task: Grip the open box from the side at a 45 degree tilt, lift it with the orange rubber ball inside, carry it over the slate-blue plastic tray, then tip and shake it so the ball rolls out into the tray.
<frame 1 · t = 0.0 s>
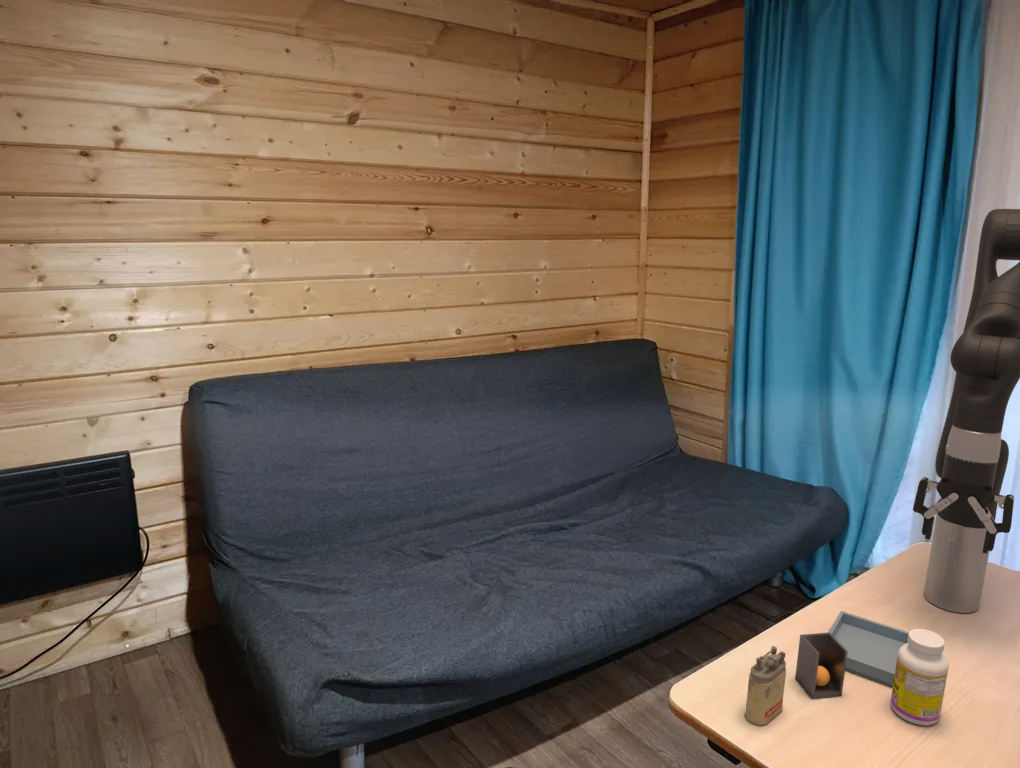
hand: (955, 544, 127), 17 cm above the table, tool pointing down, fingers open, 8 cm apart
lighter: (762, 713, 111), on the table
supplement bottle: (914, 713, 111), on the table
tray: (865, 653, 125), on the table
open box: (817, 687, 117), on the table, touching ball
ball: (819, 675, 116), point 2 cm above the table, touching open box
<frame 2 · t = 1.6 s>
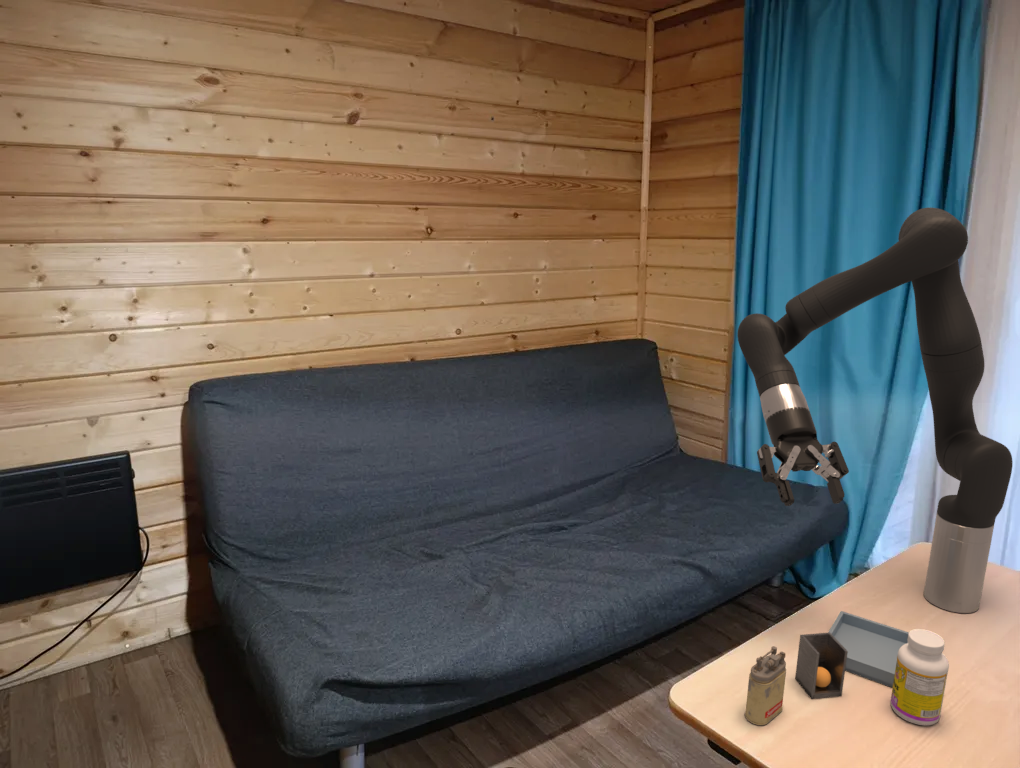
hand: (814, 503, 121), 26 cm above the table, tool tilted 45°, fingers open, 8 cm apart
ball: (820, 677, 116), point 2 cm above the table, tilted 13°, touching open box
everything else where it was.
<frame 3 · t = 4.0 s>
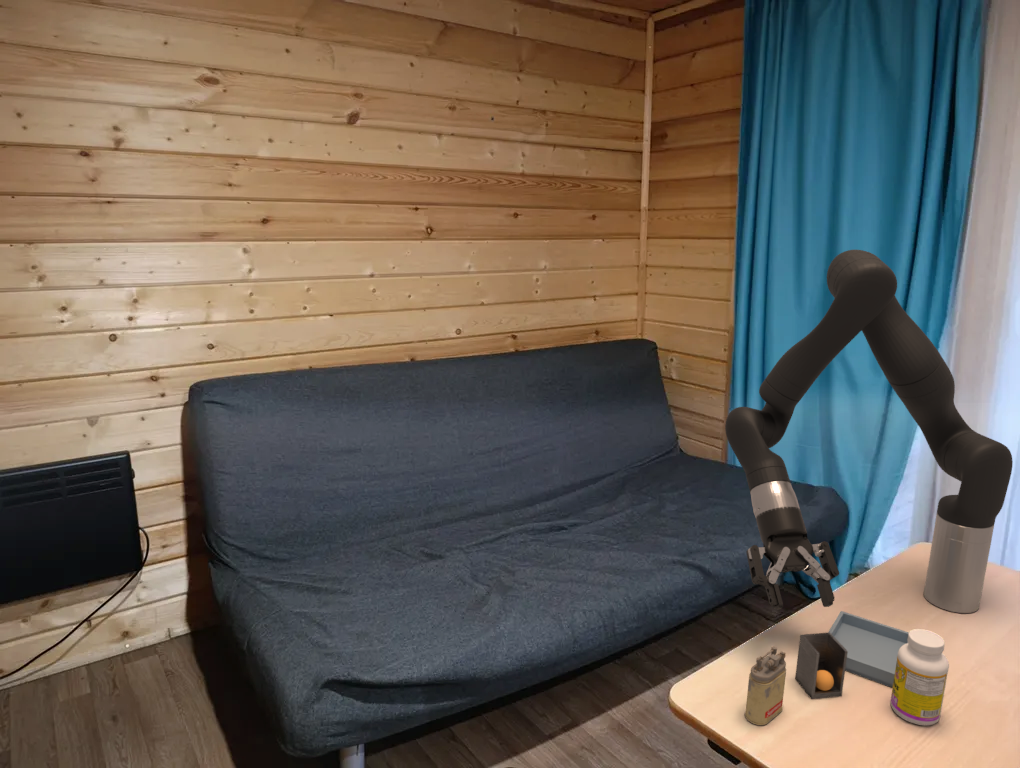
hand: (804, 607, 120), 10 cm above the table, tool tilted 45°, fingers open, 8 cm apart
ball: (823, 680, 115), point 2 cm above the table, tilted 43°, touching open box
everything else where it was.
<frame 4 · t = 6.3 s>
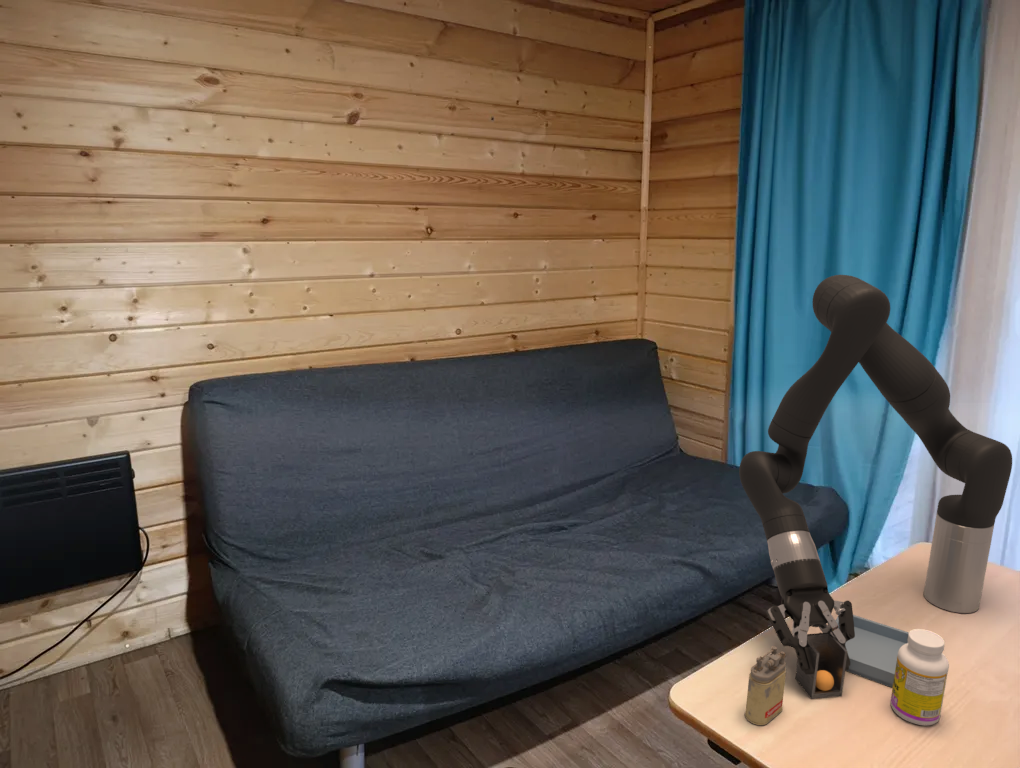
hand: (827, 671, 114), 4 cm above the table, tool tilted 45°, fingers closed on open box, 5 cm apart
open box: (817, 687, 117), on the table, touching ball, gripper
everything else where it was.
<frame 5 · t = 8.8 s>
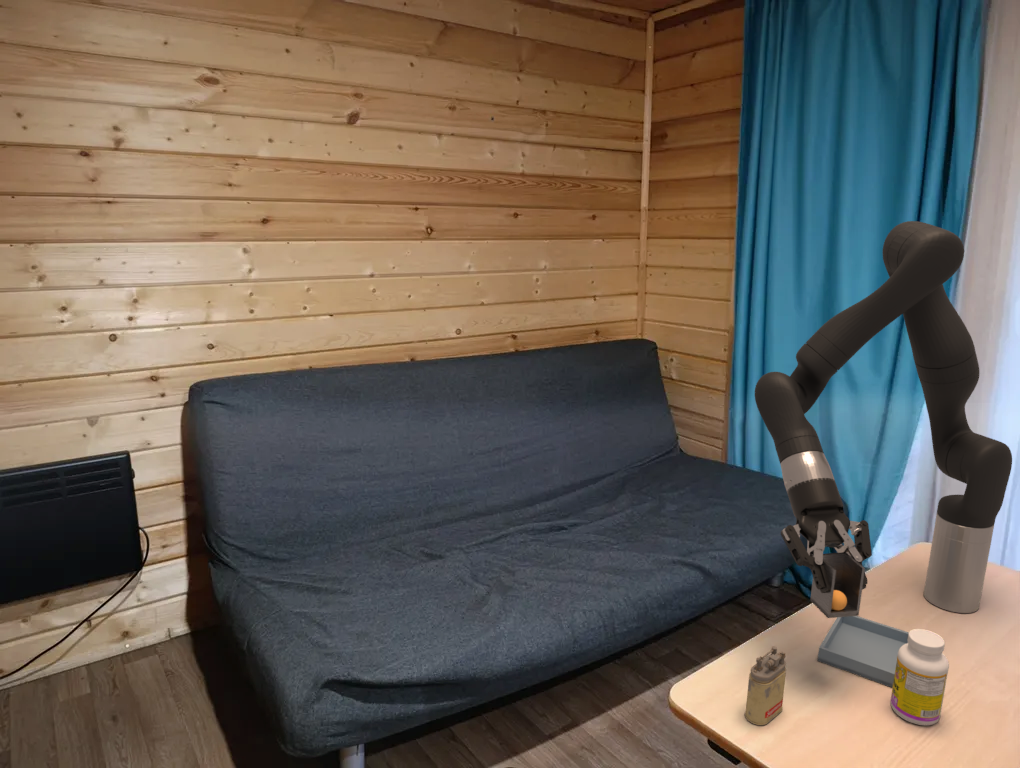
hand: (844, 589, 111), 18 cm above the table, tool tilted 45°, fingers closed on open box, 5 cm apart
open box: (833, 607, 114), point 14 cm above the table, touching ball, gripper
ball: (836, 600, 112), point 16 cm above the table, tilted 50°, touching open box
everything else where it was.
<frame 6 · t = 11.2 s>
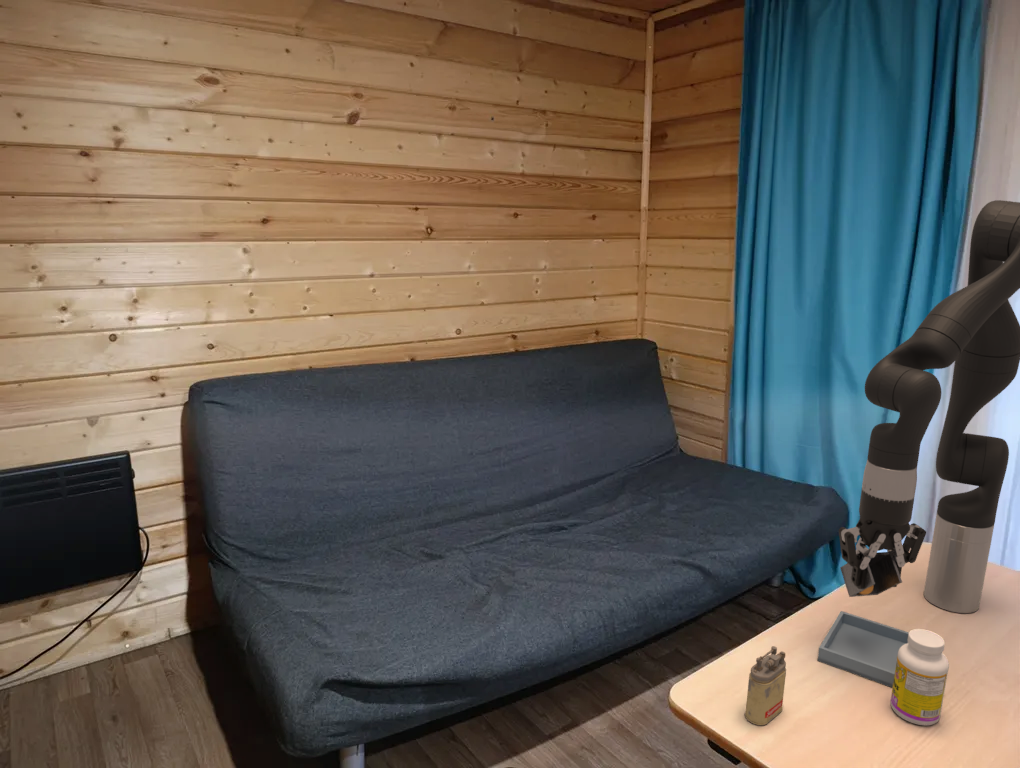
hand: (874, 585, 121), 13 cm above the table, tool pointing down, fingers closed on open box, 5 cm apart
open box: (858, 581, 126), point 12 cm above the table, tilted 45°, touching ball, gripper
ball: (863, 585, 123), point 12 cm above the table, tilted 96°, touching open box
everything else where it was.
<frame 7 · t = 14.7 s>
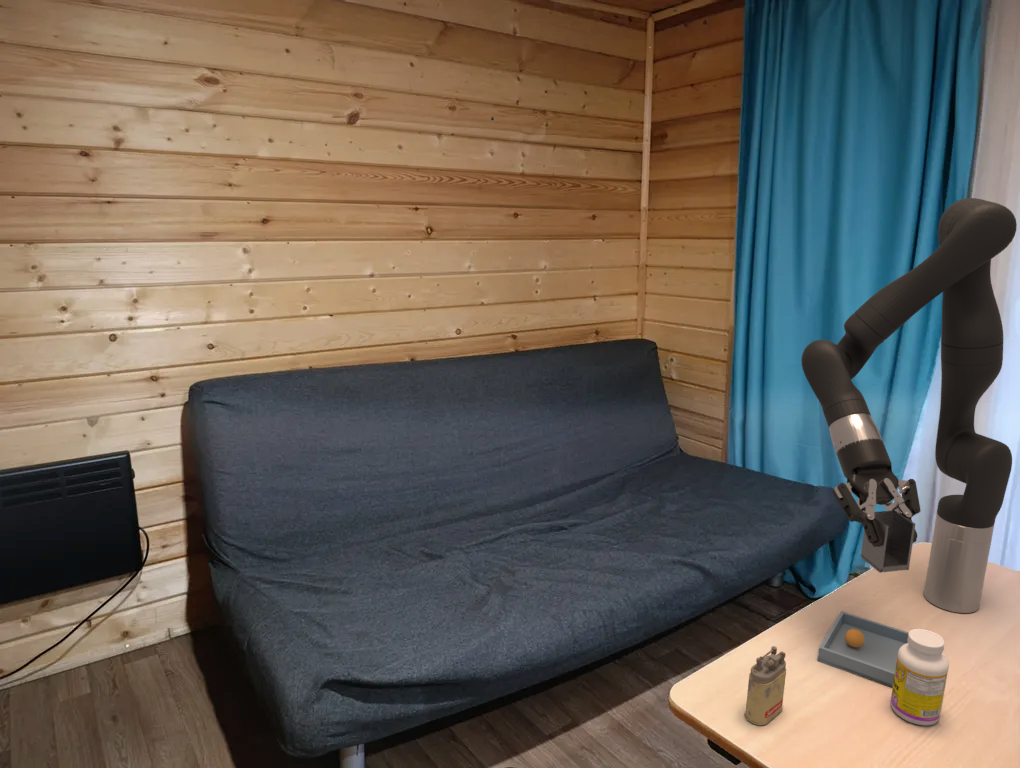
hand: (895, 543, 116), 22 cm above the table, tool tilted 45°, fingers closed on open box, 5 cm apart
open box: (884, 563, 119), point 18 cm above the table, touching gripper
ball: (854, 638, 126), point 2 cm above the table, tilted 128°, touching tray
everything else where it was.
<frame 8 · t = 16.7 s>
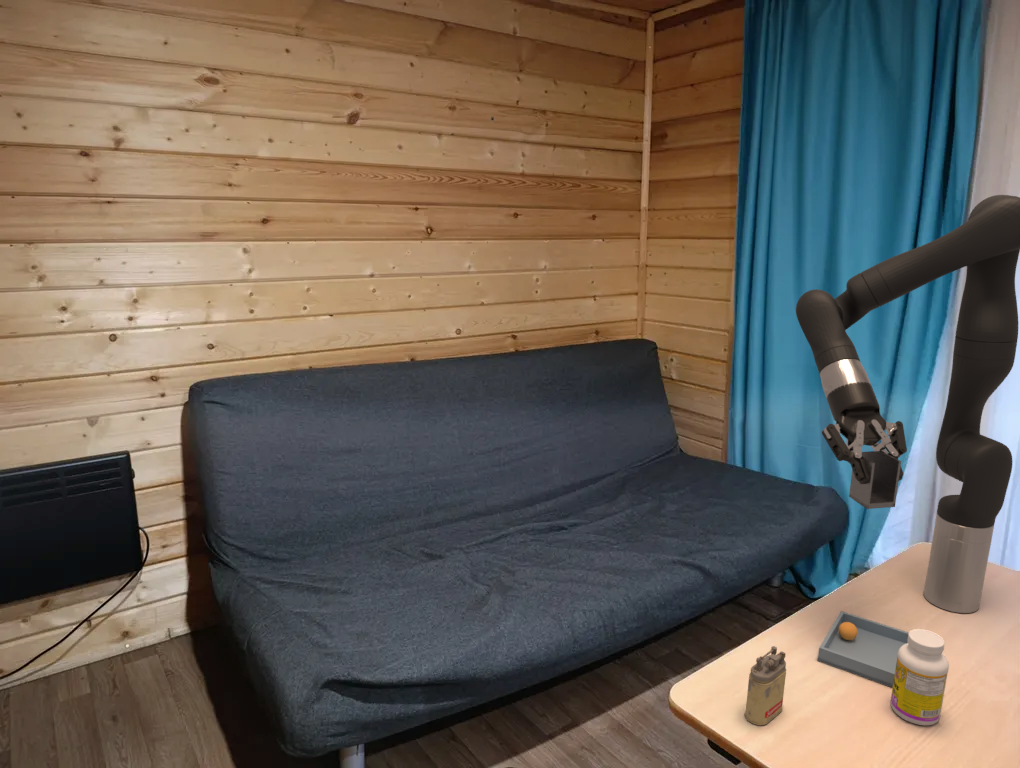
hand: (881, 481, 121), 30 cm above the table, tool tilted 45°, fingers closed on open box, 5 cm apart
open box: (871, 501, 123), point 26 cm above the table, touching gripper
ball: (848, 631, 128), point 2 cm above the table, tilted 47°, touching tray
everything else where it was.
at the end: ball inside the target area on the tray (3.9 cm from its centre), point 2.1 cm above the tray's base; ball touching tray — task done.
